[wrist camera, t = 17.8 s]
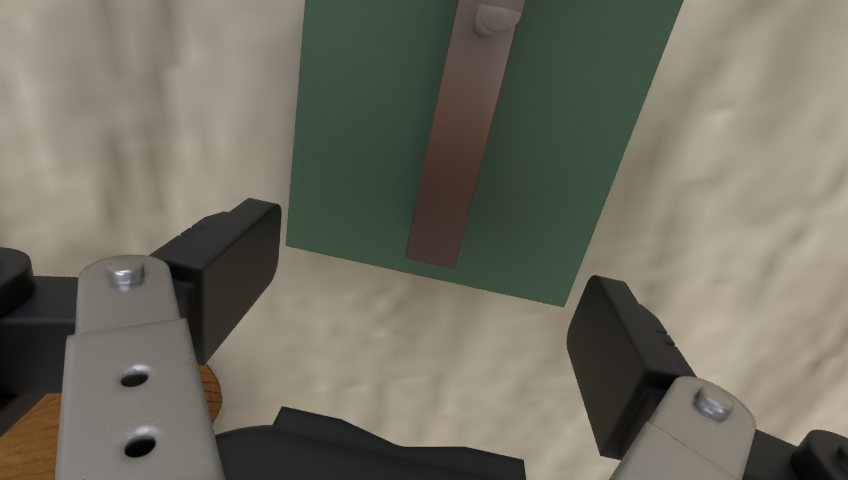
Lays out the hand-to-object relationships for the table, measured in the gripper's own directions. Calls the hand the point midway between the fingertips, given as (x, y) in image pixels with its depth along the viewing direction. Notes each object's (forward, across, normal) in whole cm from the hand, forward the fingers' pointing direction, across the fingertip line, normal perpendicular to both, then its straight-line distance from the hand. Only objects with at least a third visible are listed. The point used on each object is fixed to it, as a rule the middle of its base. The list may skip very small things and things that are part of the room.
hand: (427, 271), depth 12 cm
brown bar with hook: (+6, 0, -7) cm, 10 cm away
